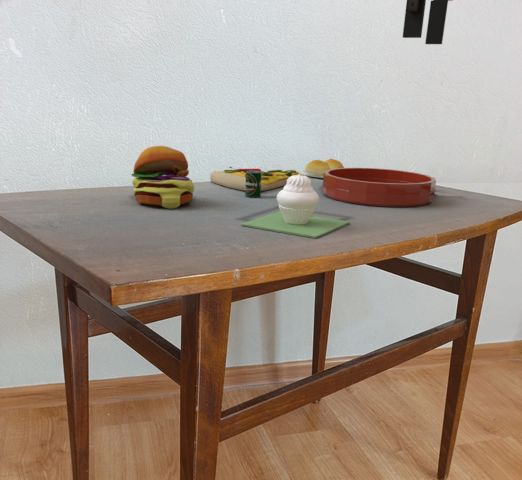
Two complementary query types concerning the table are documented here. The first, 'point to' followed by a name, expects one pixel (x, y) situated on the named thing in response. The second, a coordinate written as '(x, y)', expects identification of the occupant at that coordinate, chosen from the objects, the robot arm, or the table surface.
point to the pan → (378, 187)
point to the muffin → (297, 200)
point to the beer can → (253, 184)
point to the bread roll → (321, 167)
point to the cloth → (311, 229)
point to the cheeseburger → (162, 178)
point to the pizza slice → (238, 178)
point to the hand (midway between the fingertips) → (423, 41)
